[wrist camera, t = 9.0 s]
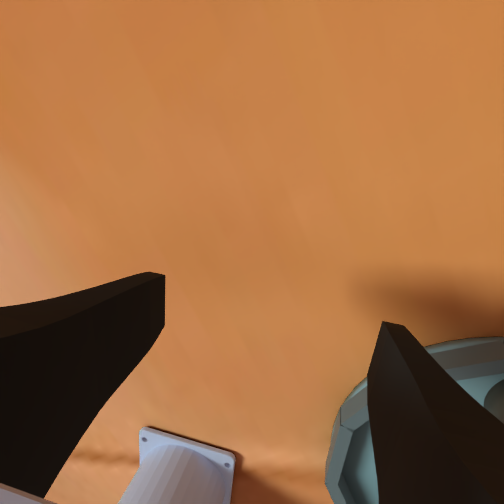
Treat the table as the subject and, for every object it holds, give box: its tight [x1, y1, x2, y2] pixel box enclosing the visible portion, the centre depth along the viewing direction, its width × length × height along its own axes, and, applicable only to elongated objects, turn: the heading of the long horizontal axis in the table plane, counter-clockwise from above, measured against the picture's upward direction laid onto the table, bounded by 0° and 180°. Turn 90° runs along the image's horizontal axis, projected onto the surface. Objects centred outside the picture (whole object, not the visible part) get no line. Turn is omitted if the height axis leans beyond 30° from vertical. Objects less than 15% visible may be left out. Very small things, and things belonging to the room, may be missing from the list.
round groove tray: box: [325, 337, 504, 504], centre depth 21 cm, size 19×19×2 cm
